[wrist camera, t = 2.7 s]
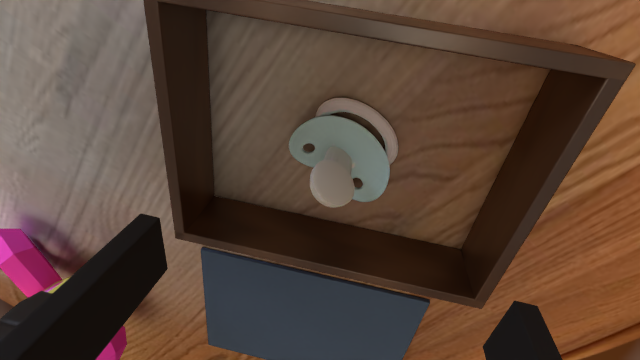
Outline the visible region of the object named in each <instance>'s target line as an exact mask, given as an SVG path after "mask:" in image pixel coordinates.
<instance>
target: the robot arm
mask: <svg viewBox="0 0 640 360" xmlns="http://www.w3.org/2000/svg"><path fill="white" fill-rule="evenodd" d="M167 269H168V268H167V262H166V256H165V249H164V243H163V237H162V231H161V224H160V218H157V217H153V216H149V215H145V214H140V215H139V216H138V217H136V218H135V219H134V220H133V221H132V222H131V223H130V224H129V225H128V226H126V227H125V228H124V229H123V230H122V231H121V232H120V233H119V234H118V235H117V236H115V237H114V238H113V239H112V240H111V241H110V242H109V243H108V244H107V245H106V246H104V247H103V248H102V249H101V250H100V251H99V252H98V253H97V254H96V255H94V256H93V257H92V258H91V259H90V260H89V261H88V262H87V263H86V264H85V265H83V266H82V267H81V268H80V269H79V270H78V271H77V272H76V273H75V274H73V275H72V276H71V277H70V278H69V279H68V280H67V281H66V282H65V283H64V284H62V285H61V286H60V287H59V288H58V289H57V290H56V291H55V292H54V293H53V294H52V293H48V292H45V291H40V292H38V293H36V294H34V295H32V296H31V297H29V298H27V299H25V300H23V301H21V302H20V303H18V304H17V305H16V306H15V307H14V308H12V309H11V310H10V311H9V312H8V313H6V314H5V315H4V316H3V317H2V318H1V319H0V360H96V359H97V357H98V356H99V355H100V354H101V352H102V351H103V350H104V349H105V347H106V346H107V345H108V344H109V342H110V341H111V340H112V338H113V337H114V336H115V335H116V333H117V332H118V331H119V330H120V328H121V327H122V326H123V325H124V323H125V322H126V321H127V319H128V318H129V317H130V316H131V314H132V313H133V312H134V311H135V309H136V308H137V307H138V306H139V304H140V303H141V302H142V301H143V299H144V298H145V297H146V295H147V294H148V293H149V292H150V290H151V289H152V288H153V287H154V285H155V284H156V283H157V282H158V280H159V279H160V278H161V276H162V275H163V274H164V273H165V271H166V270H167ZM483 349H484V353H485V357H486V360H562V358H561V356H560V353H559V351H558V349H557V347H556V345H555V343H554V341H553V339H552V336H551V334H550V332H549V330H548V328H547V326H546V324H545V321H544V319H543V317H542V315H541V313H540V311H539V309H538V306H535V305H531V304H526V303H522V302H518V301H514V302H513V303H512V305H511V306H510V308H509V309H508V311H507V312H506V314H505V315H504V317H503V318H502V319H501V321H500V322H499V324H498V325H497V327H496V328H495V330H494V331H493V332H492V334H491V335H490V337H489V338H488V340H487V341H486V343H485V344H484V345H483Z"/></svg>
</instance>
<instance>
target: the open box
mask: <svg viewBox="0 0 640 360" xmlns="http://www.w3.org/2000/svg"><path fill="white" fill-rule="evenodd" d="M144 8H145V15H146V23H147V30H148V38H149V45H150V52H151V60H152V67H153V75H154V82H155V89H156V97H157V104H158V112H159V119H160V126H161V134H162V141H163V149H164V156H165V163H166V171H167V178H168V186H169V193H170V200H171V208H172V215H173V223H174V230H175V238H177V239H181V240H185V241H189V242H194V243H198V244H202V245H207V246H211V247H215V248H220V249H224V250H228V251H233V252H237V253H241V254H246V255H250V256H254V257H259V258H263V259H267V260H272V261H276V262H280V263H285V264H289V265H293V266H298V267H302V268H306V269H311V270H315V271H319V272H324V273H328V274H332V275H337V276H341V277H345V278H350V279H354V280H358V281H363V282H367V283H371V284H376V285H380V286H384V287H389V288H393V289H397V290H402V291H406V292H410V293H414V294H419V295H423V296H427V297H432V298H436V299H440V300H445V301H449V302H453V303H458V304H462V305H466V306H471V307H475V308H479V309H482V308H483V306H484V305H485V303H486V301H487V300H488V298H489V297H490V295H491V293H492V292H493V290H494V289H495V287H496V285H497V284H498V282H499V281H500V279H501V278H502V276H503V274H504V273H505V271H506V270H507V268H508V266H509V265H510V263H511V262H512V260H513V258H514V257H515V255H516V254H517V252H518V251H519V249H520V247H521V246H522V244H523V243H524V241H525V239H526V238H527V236H528V235H529V233H530V231H531V230H532V228H533V227H534V225H535V224H536V222H537V220H538V219H539V217H540V216H541V214H542V212H543V211H544V209H545V208H546V206H547V204H548V203H549V201H550V200H551V198H552V197H553V195H554V193H555V192H556V190H557V189H558V187H559V185H560V184H561V182H562V181H563V179H564V177H565V176H566V174H567V173H568V171H569V170H570V168H571V166H572V165H573V163H574V162H575V160H576V158H577V157H578V155H579V154H580V152H581V150H582V149H583V147H584V146H585V144H586V143H587V141H588V139H589V138H590V136H591V135H592V133H593V131H594V130H595V128H596V127H597V125H598V123H599V122H600V120H601V119H602V117H603V116H604V114H605V112H606V111H607V109H608V108H609V106H610V104H611V103H612V101H613V100H614V98H615V96H616V95H617V93H618V92H619V90H620V89H621V87H622V85H623V84H624V82H625V81H626V79H627V78H628V76H629V74H630V73H631V71H632V70H633V68H634V67H635V63H633V62H629V61H626V60H623V59H620V58H616V57H613V56H610V55H607V54H604V53H600V52H597V51H594V50H591V49H587V48H584V47H581V46H578V45H572V44H566V43H560V42H554V41H548V40H542V39H536V38H530V37H524V36H518V35H512V34H506V33H500V32H494V31H488V30H482V29H476V28H470V27H464V26H458V25H452V24H446V23H439V22H433V21H427V20H421V19H415V18H409V17H403V16H397V15H391V14H385V13H379V12H373V11H367V10H361V9H355V8H349V7H343V6H337V5H331V4H325V3H319V2H313V1H307V0H144ZM206 10H210V11H216V12H221V13H227V14H233V15H239V16H245V17H250V18H256V19H262V20H268V21H274V22H279V23H285V24H291V25H297V26H303V27H308V28H314V29H320V30H326V31H331V32H337V33H343V34H349V35H355V36H360V37H366V38H372V39H378V40H384V41H389V42H395V43H401V44H407V45H413V46H418V47H424V48H430V49H436V50H442V51H447V52H453V53H459V54H465V55H471V56H476V57H482V58H488V59H494V60H499V61H505V62H511V63H517V64H523V65H528V66H534V67H540V68H546V69H551V70H550V72H549V74H548V76H547V78H546V80H545V82H544V84H543V86H542V88H541V90H540V92H539V94H538V96H537V98H536V100H535V102H534V104H533V106H532V108H531V110H530V112H529V114H528V116H527V118H526V120H525V122H524V124H523V126H522V128H521V130H520V132H519V134H518V136H517V138H516V140H515V142H514V144H513V146H512V148H511V150H510V152H509V154H508V156H507V158H506V160H505V162H504V164H503V166H502V168H501V170H500V172H499V174H498V176H497V178H496V180H495V182H494V184H493V186H492V188H491V190H490V192H489V194H488V196H487V198H486V201H485V203H484V205H483V207H482V209H481V211H480V213H479V215H478V217H477V219H476V221H475V223H474V225H473V227H472V229H471V231H470V233H469V235H468V237H467V239H466V241H465V243H464V245H463V247H462V249H461V250H459V249H455V248H450V247H446V246H441V245H436V244H432V243H427V242H423V241H418V240H413V239H409V238H404V237H400V236H395V235H391V234H386V233H381V232H377V231H372V230H368V229H363V228H359V227H354V226H349V225H345V224H340V223H336V222H331V221H326V220H322V219H317V218H313V217H308V216H304V215H299V214H294V213H290V212H285V211H281V210H276V209H272V208H267V207H262V206H258V205H253V204H249V203H244V202H240V201H235V200H230V199H226V198H221V197H217V196H214V178H213V157H212V135H211V113H210V92H209V70H208V49H207V27H206Z"/></svg>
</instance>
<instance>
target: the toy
mask: <svg viewBox="0 0 640 360" xmlns="http://www.w3.org/2000/svg"><path fill="white" fill-rule="evenodd" d="M0 268H1V269H2V270H3V271H4V273H5V274H6V275H7V276H8V277H9V278H10V279H11V280H12V281H13V282H14V283H15V284H16V285H17V287H18V288H19V289H20V290H21V291H22V292H23V293H24V294H25V295H26V296H27V297H28V298H29V297H31V296H32V295H34V294H36V293H38V292H40V291H45V292H48V293H52V294H53V293H54V292H55V291H56V290H57V289H58V288H59V287H60V286H61V285H62V284H64V283H65V282H66V281H67V280H68V279H69V278H70V277H68V278H65V279H63V280H62V278H61V277H60V276H59V275H58V273H57V272H56V271H55V269H54V268H53V267H52V265H51V264H50V263H49V261H48V260H47V259H46V258H45V257H44V255H43V254H42V253H41V252H40V251H39V249H38V248H37V247H36V246H35V245H34V243H33V242H32V241H31V240H30V239H29V238H28V236H27V235H26V234H25V233H24V232H23V231H22V230H21V229H0ZM126 345H127V341H126V333H125V327H124V326H122V327H121V328H120V330H119V331H118V332H117V333H116V335H115V336H114V337H113V338H112V340H111V341H110V342H109V344H108V345H107V346H106V347H105V349H104V350H103V351H102V352H101V354H100V355H99V356H98V357H97V359H96V360H119V359H120V357H121V355H122V353H123V351H124V349H125V347H126Z"/></svg>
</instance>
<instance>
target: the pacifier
mask: <svg viewBox="0 0 640 360" xmlns="http://www.w3.org/2000/svg"><path fill="white" fill-rule="evenodd" d="M336 112H348V113H353V114H356V115H358V116H360V117H362V118H364V119H365V120H367V121H368V122H370V123H371V124H372V125H373V126H374V127H375V128H376V129H377V130H378V131H379V133H380V134H381V136H382V138H383V140H384V142H385V151H384V149H383V147H382V146H381V144H380V143H379V141H378V140H377V139H376V138H375V136H374V135H373V134H372V133H370V132H369V131H368V130H367V129H366V128H364V127H363V126H361V125H360V124H358V123H357V122H355V121H352V120H350V119H347V118H344V117H340V116H334V115H331V114H333V113H336ZM307 143H311V144H313V145H314V146H315V150H314V151H312V152H306V151H305V150H304V149H303V145H305V144H307ZM398 149H399V147H398V140H397V137H396V135H395V132H394V130H393V128H392V127H391V126H390V124H389V123H388V121H387V120H386V119H385V118H384V117H383V116H382V115H381V114H380V113H379V112H377V111H376V110H374V109H373V108H371V107H370V106H368V105H367V104H364V103H362V102H359V101H357V100H354V99H349V98H333V99H330V100H327V101H325V102H324V103H323V104H322V105H321V106H319V108H318V110H317V113H316V117H315V118H312V119H310V120H308V121H306V122H305V123H303V124H301V125H300V126H299V127H298V128H297V129H296V130H295V131H294V133H293V134H292V136H291V138H290V141H289V150H290V153H291V154H292V156H293V157H294V158H295V159H296V160H297V161H299V162H300V163H302V164H304V165H307V166H310V167H314V168H313V170H312V172H311V175H310V188H311V191H312V194H313V196H314V197H315V198H316V200H317V201H318V202H320V203H321V204H323V205H325V206H327V207H332V208H337V207H341V206H344V205H346V204H347V203H349V202H350V201H351V200H352V199H353V200H356V201H360V202H370V201H373V200H375V199H377V198H379V196H380V195H382V193H383V192H384V190H385V189H386V186H387V184H388V179H389V174H390V169H389V165H390V164H391V163H393V161H394V160H395V158H396V157H397V154H398ZM355 177H357V178H360V179H361V180H362V182H363V185H362V187H360V188H357V187H355V186H354V182H353V178H355Z"/></svg>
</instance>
